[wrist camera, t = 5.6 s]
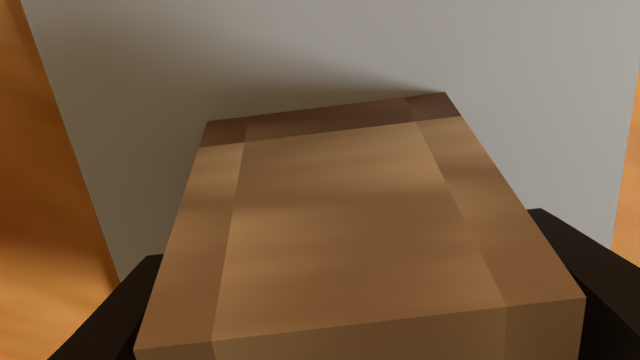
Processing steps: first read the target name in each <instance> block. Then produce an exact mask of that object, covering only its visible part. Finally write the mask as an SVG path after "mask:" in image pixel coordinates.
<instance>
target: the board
mask: <svg viewBox="0 0 640 360" xmlns="http://www.w3.org/2000/svg"><path fill="white" fill-rule="evenodd" d="M20 2H21V5H22V7H23V10H24V13H25V16H26V19H27V22H28V24H29V27H30V30H31V33H32V36H33V38H34V41H35V44H36V47H37V50H38V53H39V55H40V58H41V61H42V64H43V67H44V69H45V72H46V75H47V78H48V81H49V83H50V86H51V89H52V92H53V95H54V98H55V100H56V103H57V106H58V109H59V112H60V114H61V117H62V120H63V123H64V126H65V129H66V131H67V134H68V137H69V140H70V143H71V145H72V148H73V151H74V154H75V157H76V159H77V162H78V165H79V168H80V171H81V174H82V176H83V179H84V182H85V185H86V188H87V190H88V193H89V196H90V199H91V202H92V205H93V207H94V210H95V213H96V216H97V219H98V221H99V224H100V227H101V230H102V233H103V235H104V238H105V241H106V244H107V247H108V250H109V252H110V255H111V258H112V261H113V264H114V266H115V269H116V272H117V275H118V278H119V281H120V283H121V282H122V281H123V280H124V279H125V278H126V277H127V276H128V274H129V273H130V272H131V271H132V270H133V269H134V268H135V267H136V266H137V265H138V264H139V263H140V262H141V261H142V260H143V259H144V258H145V257H146V256H148V255H156V254H164V253H165V250H166V247H167V244H168V241H169V238H170V235H171V231H172V228H173V225H174V222H175V219H176V216H177V213H178V210H179V207H180V204H181V201H182V198H183V195H184V192H185V188H186V185H187V182H188V179H189V176H190V173H191V170H192V167H193V164H194V161H195V158H196V155H197V152H198V149H199V145H200V142H201V139H202V136H203V133H204V130H205V127H206V124H207V121H213V120H221V119H229V118H238V117H246V116H254V115H262V114H271V113H279V112H287V111H295V110H304V109H312V108H320V107H328V106H336V105H345V104H353V103H361V102H369V101H378V100H386V99H394V98H402V97H411V96H419V95H427V94H435V93H443V92H446V94H447V95H448V97H449V98H450V100H451V101H452V103H453V104H454V105H455V107H456V108H457V110H458V111H459V113H460V114H461V116H462V117H463V119H464V120H465V121H466V123H467V124H468V126H469V127H470V129H471V130H472V132H473V133H474V135H475V136H476V137H477V139H478V140H479V142H480V143H481V145H482V146H483V148H484V149H485V151H486V152H487V153H488V155H489V156H490V158H491V159H492V161H493V162H494V164H495V165H496V167H497V168H498V169H499V171H500V172H501V174H502V175H503V177H504V178H505V180H506V181H507V183H508V184H509V185H510V187H511V188H512V190H513V191H514V193H515V194H516V196H517V197H518V199H519V200H520V201H521V203H522V204H523V206H524V207H525V209H526V210H527V209H535V208H542V209H544V210H545V211H547V212H549V213H551V214H552V215H554V216H556V217H558V218H559V219H561V220H562V221H564V222H566V223H567V224H569V225H571V226H572V227H574V228H575V229H577V230H579V231H580V232H582V233H583V234H585V235H587V236H588V237H590V238H591V239H593V240H595V241H596V242H598V243H599V244H601V245H603V246H604V247H606V248H608V249H609V250H611V245H612V238H613V232H614V225H615V219H616V213H617V206H618V200H619V193H620V187H621V180H622V174H623V167H624V161H625V154H626V148H627V142H628V135H629V129H630V122H631V116H632V109H633V103H634V96H635V90H636V83H637V77H638V71H639V64H640V0H20Z"/></svg>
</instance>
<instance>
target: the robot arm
mask: <svg viewBox="0 0 640 360" xmlns="http://www.w3.org/2000/svg"><path fill="white" fill-rule="evenodd" d="M527 212H528V213H529V214H530V216H531V217H532V219H533V220H534V222H535V223H536V225H537V226H538V228H539V229H540V230H541V232H542V233H543V235H544V236H545V238H546V239H547V241H548V242H549V244H550V245H551V246H552V248H553V249H554V251H555V252H556V254H557V255H558V257H559V258H560V260H561V261H562V262H563V264H564V265H565V267H566V268H567V270H568V271H569V273H570V274H571V276H572V277H573V278H574V280H575V281H576V283H577V284H578V286H579V287H580V289H581V290H582V292H583V293H584V294H585V296H586V297H587V298H586V305H585V312H584V319H583V326H582V333H581V340H580V347H579V354H578V360H640V268H639V267H637V266H636V265H634V264H632V263H631V262H629V261H627V260H626V259H624V258H622V257H621V256H619V255H617V254H616V253H614V252H612V251H611V250H609V249H608V248H606V247H604V246H603V245H601V244H599V243H598V242H596V241H595V240H593V239H591V238H590V237H588V236H587V235H585V234H583V233H582V232H580V231H579V230H577V229H575V228H574V227H572V226H571V225H569V224H567V223H566V222H564V221H562V220H561V219H559V218H558V217H556V216H554V215H552V214H551V213H549V212H547V211H545V210H544V209H542V208H535V209H527ZM163 256H164V254H156V255H148V256H146V257H145V258H144V259H143V260H142V261H141V262H140V263H139V264H138V265H137V266H136V267H135V268H134V269H133V270H132V271H131V272H130V273H129V274H128V276H127V277H126V278H125V279H124V280H123V281H122V282H121V283H120V284H119V285H118V287H117V288H116V289H115V290H114V291H113V292H112V293H111V294H110V295H109V296H108V297H107V299H106V300H105V301H104V302H103V303H102V304H101V305H100V306H99V307H98V308H97V309H96V310H95V311H94V312H93V314H92V315H91V316H90V317H89V318H88V319H87V320H86V321H85V322H84V323H83V324H82V325H81V326H80V327H79V328H78V329H77V331H76V332H75V333H74V334H73V335H72V336H71V337H70V338H69V339H68V340H67V341H66V342H65V343H64V344H63V345H62V346H61V347H60V348H59V349H58V350H57V351H56V352H55V353H54V354H52V355H51V356H50V357H49V358H48V359H47V360H136V357H135V355H134V352H133V348H134V345H135V342H136V339H137V336H138V333H139V330H140V327H141V324H142V321H143V318H144V314H145V311H146V308H147V305H148V302H149V299H150V296H151V293H152V290H153V287H154V284H155V281H156V278H157V275H158V271H159V268H160V265H161V262H162V259H163Z"/></svg>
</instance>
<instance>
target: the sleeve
mask: <svg viewBox="0 0 640 360" xmlns="http://www.w3.org/2000/svg"><path fill="white" fill-rule="evenodd" d="M586 298H587V297H586V296H585V294H584V293H583V292H582V290H581V289H580V287H579V286H578V284H577V283H576V281H575V280H574V278H573V277H572V276H571V274H570V273H569V271H568V270H567V268H566V267H565V265H564V264H563V262H562V261H561V260H560V258H559V257H558V255H557V254H556V252H555V251H554V249H553V248H552V246H551V245H550V244H549V242H548V241H547V239H546V238H545V236H544V235H543V233H542V232H541V230H540V229H539V228H538V226H537V225H536V223H535V222H534V220H533V219H532V217H531V216H530V214H529V213H528V212H527V210H526V209H525V207H524V206H523V204H522V203H521V201H520V200H519V199H518V197H517V196H516V194H515V193H514V191H513V190H512V188H511V187H510V185H509V184H508V183H507V181H506V180H505V178H504V177H503V175H502V174H501V172H500V171H499V169H498V168H497V167H496V165H495V164H494V162H493V161H492V159H491V158H490V156H489V155H488V153H487V152H486V151H485V149H484V148H483V146H482V145H481V143H480V142H479V140H478V139H477V137H476V136H475V135H474V133H473V132H472V130H471V129H470V127H469V126H468V124H467V123H466V121H465V120H464V119H463V117H462V116H461V114H460V113H459V111H458V110H457V108H456V107H455V105H454V104H453V103H452V101H451V100H450V98H449V97H448V95H447V94H446V92H443V93H435V94H427V95H419V96H411V97H402V98H394V99H386V100H378V101H369V102H361V103H353V104H345V105H336V106H328V107H320V108H312V109H304V110H295V111H287V112H279V113H271V114H262V115H254V116H246V117H238V118H229V119H221V120H213V121H207V124H206V127H205V130H204V133H203V136H202V139H201V142H200V145H199V149H198V152H197V155H196V158H195V161H194V164H193V167H192V170H191V173H190V176H189V179H188V182H187V185H186V188H185V192H184V195H183V198H182V201H181V204H180V207H179V210H178V213H177V216H176V219H175V222H174V225H173V228H172V231H171V235H170V238H169V241H168V244H167V247H166V250H165V253H164V256H163V259H162V262H161V265H160V268H159V271H158V275H157V278H156V281H155V284H154V287H153V290H152V293H151V296H150V299H149V302H148V305H147V308H146V311H145V314H144V318H143V321H142V324H141V327H140V330H139V333H138V336H137V339H136V342H135V345H134V348H133V352H134V355H135V357H136V360H578V354H579V347H580V340H581V333H582V326H583V319H584V312H585V305H586Z"/></svg>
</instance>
